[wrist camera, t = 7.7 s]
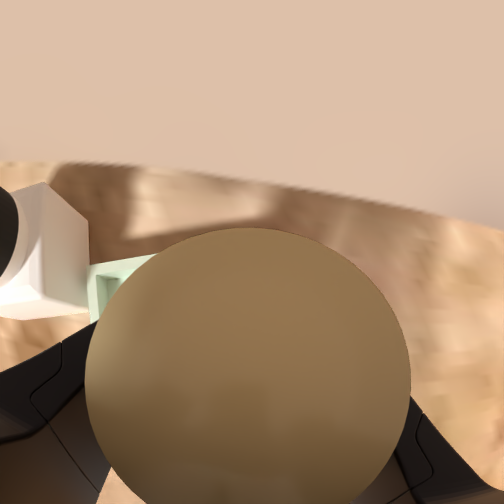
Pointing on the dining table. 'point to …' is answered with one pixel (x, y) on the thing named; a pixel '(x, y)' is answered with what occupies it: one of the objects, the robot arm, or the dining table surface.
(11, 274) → the medicine bottle
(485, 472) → the dining table surface
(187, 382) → the fuse
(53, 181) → the dining table surface
